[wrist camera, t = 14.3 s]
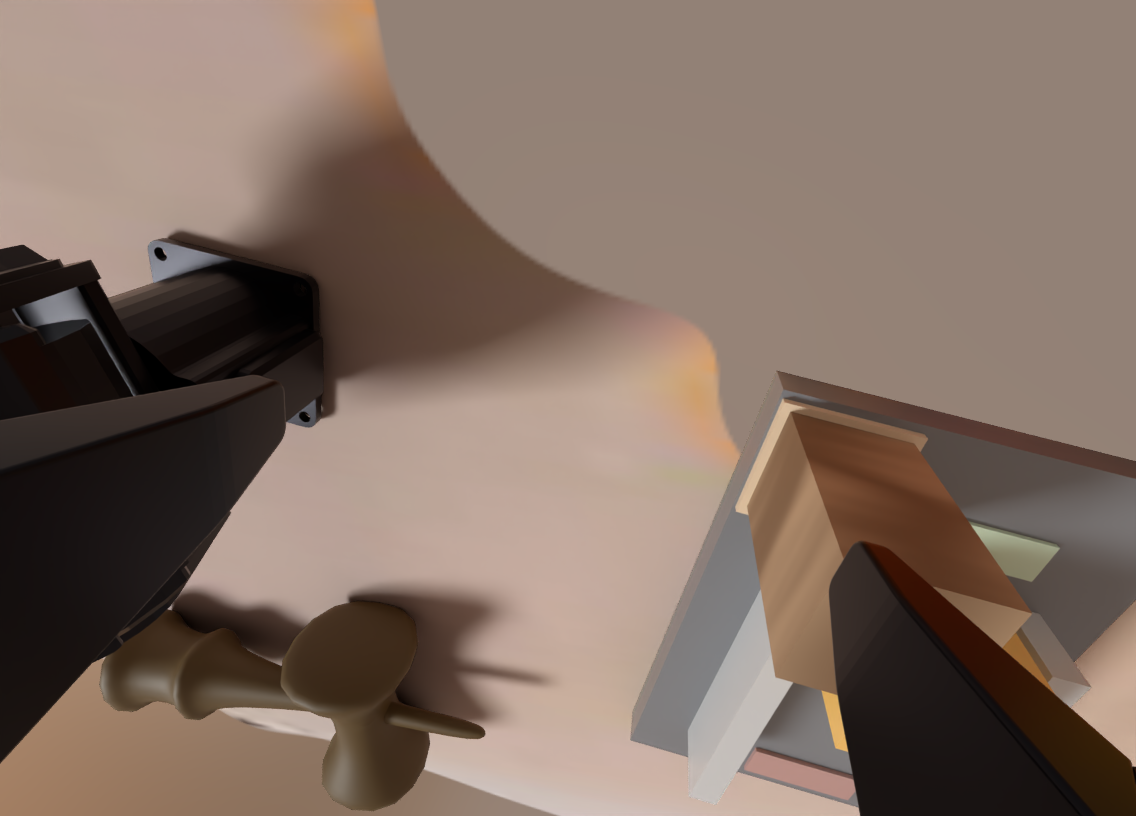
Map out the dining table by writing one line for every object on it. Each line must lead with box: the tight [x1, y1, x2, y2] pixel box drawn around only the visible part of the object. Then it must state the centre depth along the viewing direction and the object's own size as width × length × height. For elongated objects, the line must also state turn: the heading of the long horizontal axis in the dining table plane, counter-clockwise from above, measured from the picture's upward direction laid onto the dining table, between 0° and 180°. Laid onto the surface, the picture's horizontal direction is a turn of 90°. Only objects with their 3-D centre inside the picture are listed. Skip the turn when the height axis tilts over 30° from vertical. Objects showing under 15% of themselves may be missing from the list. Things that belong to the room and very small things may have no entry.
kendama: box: [99, 601, 485, 811], centre depth 29 cm, size 6×10×20 cm
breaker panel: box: [630, 371, 1136, 807], centre depth 22 cm, size 14×20×4 cm
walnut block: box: [747, 411, 1032, 695], centre depth 16 cm, size 4×4×7 cm
